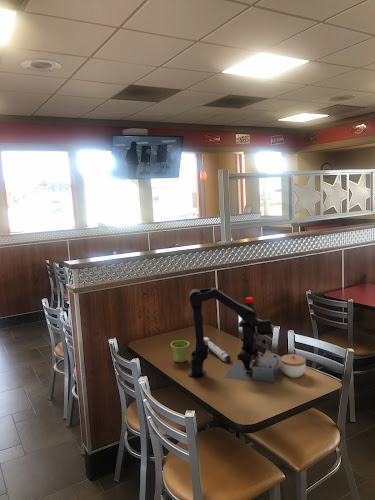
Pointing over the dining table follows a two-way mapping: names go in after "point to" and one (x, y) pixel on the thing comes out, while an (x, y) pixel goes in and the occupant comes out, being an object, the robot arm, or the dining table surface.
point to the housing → (265, 368)
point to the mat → (242, 373)
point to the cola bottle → (249, 303)
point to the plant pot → (180, 350)
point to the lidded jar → (293, 365)
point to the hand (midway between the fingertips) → (249, 368)
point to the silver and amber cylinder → (250, 365)
